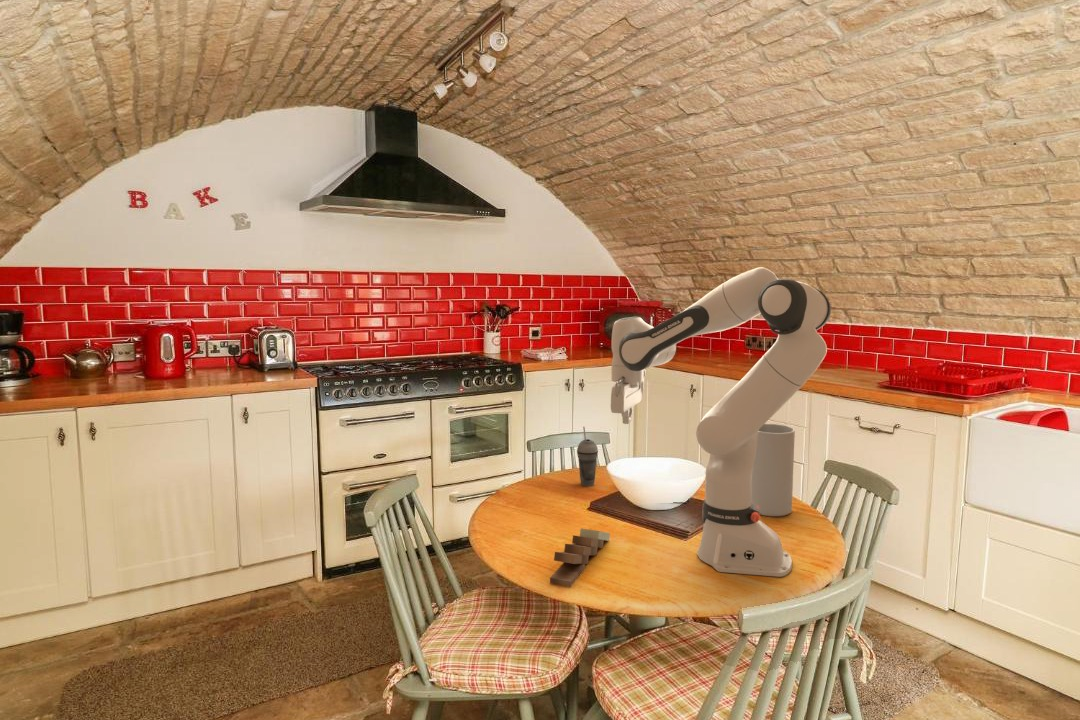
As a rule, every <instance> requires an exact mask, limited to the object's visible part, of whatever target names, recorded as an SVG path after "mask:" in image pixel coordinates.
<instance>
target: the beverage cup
mask: <svg viewBox="0 0 1080 720" xmlns="http://www.w3.org/2000/svg"><path fill="white" fill-rule="evenodd" d="M582 429H583V436H584V438H583V440H581V441H580V442H579V443H578V444H577V445H578V446H577V449H576V454H577V459H578V467H579V481H580V485H581V486H583V487H593V486H594V485H595V480H596V471H597V458H598V455H599V449H598V446H597V444H596V443H595V441H593V440H592V439H589V438H587V436H586V427H585V426H583V427H582Z"/></svg>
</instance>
